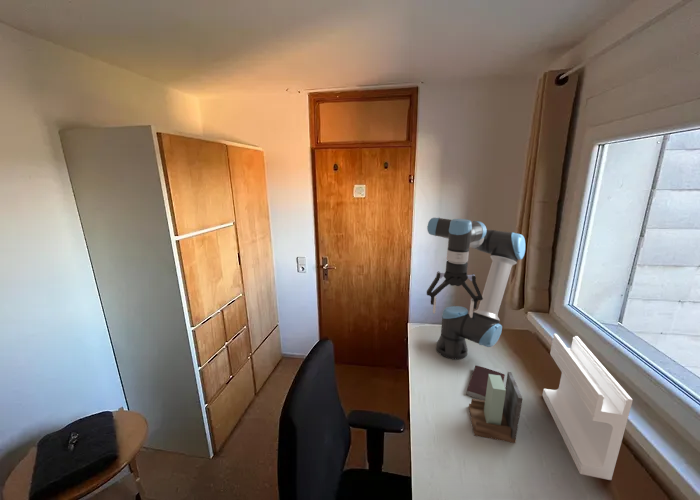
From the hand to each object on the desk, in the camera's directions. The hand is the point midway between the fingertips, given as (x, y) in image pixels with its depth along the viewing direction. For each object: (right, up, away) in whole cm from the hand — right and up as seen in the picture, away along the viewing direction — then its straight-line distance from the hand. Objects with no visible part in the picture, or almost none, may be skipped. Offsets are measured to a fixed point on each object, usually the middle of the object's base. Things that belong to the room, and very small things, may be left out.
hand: (452, 314), depth 121 cm
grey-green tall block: (+11, -37, -8) cm, 39 cm away
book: (+18, -34, +12) cm, 40 cm away
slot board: (+11, -38, -8) cm, 40 cm away
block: (+38, -39, -11) cm, 56 cm away
